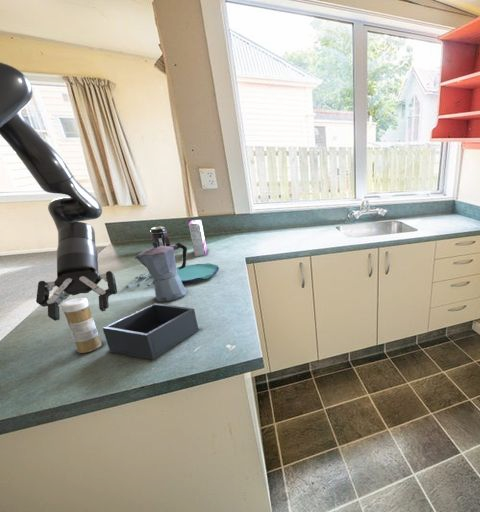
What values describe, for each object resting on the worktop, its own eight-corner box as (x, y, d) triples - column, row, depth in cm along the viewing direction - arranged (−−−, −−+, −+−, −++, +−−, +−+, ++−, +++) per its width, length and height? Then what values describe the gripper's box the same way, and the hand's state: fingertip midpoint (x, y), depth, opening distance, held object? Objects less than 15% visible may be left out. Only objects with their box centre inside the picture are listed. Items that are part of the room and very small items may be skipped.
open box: (153, 359, 71) (146, 335, 69) (109, 351, 74) (102, 328, 72) (198, 329, 84) (194, 308, 82) (160, 323, 87) (154, 303, 85)
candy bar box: (196, 250, 156) (190, 220, 151) (207, 249, 158) (201, 219, 153) (194, 256, 146) (187, 224, 141) (205, 255, 148) (199, 223, 143)
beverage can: (167, 251, 155) (162, 228, 151) (152, 252, 153) (147, 229, 149) (173, 247, 161) (168, 226, 157) (158, 248, 159) (153, 226, 156)
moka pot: (140, 301, 100) (124, 245, 94) (185, 285, 113) (174, 234, 107) (156, 307, 96) (141, 249, 90) (202, 290, 109) (191, 237, 103)
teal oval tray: (215, 282, 116) (214, 276, 116) (122, 292, 107) (120, 286, 106) (223, 265, 134) (222, 261, 134) (144, 273, 125) (143, 268, 124)
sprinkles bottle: (85, 344, 77) (68, 298, 73) (106, 342, 78) (91, 296, 74) (73, 355, 73) (54, 306, 69) (95, 352, 74) (78, 304, 70)
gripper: (31, 256, 72) (29, 317, 67) (108, 247, 80) (112, 302, 74) (46, 269, 78) (46, 327, 72) (117, 260, 85) (121, 312, 80)
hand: (79, 314), depth 73 cm, fingers open, 8 cm apart
